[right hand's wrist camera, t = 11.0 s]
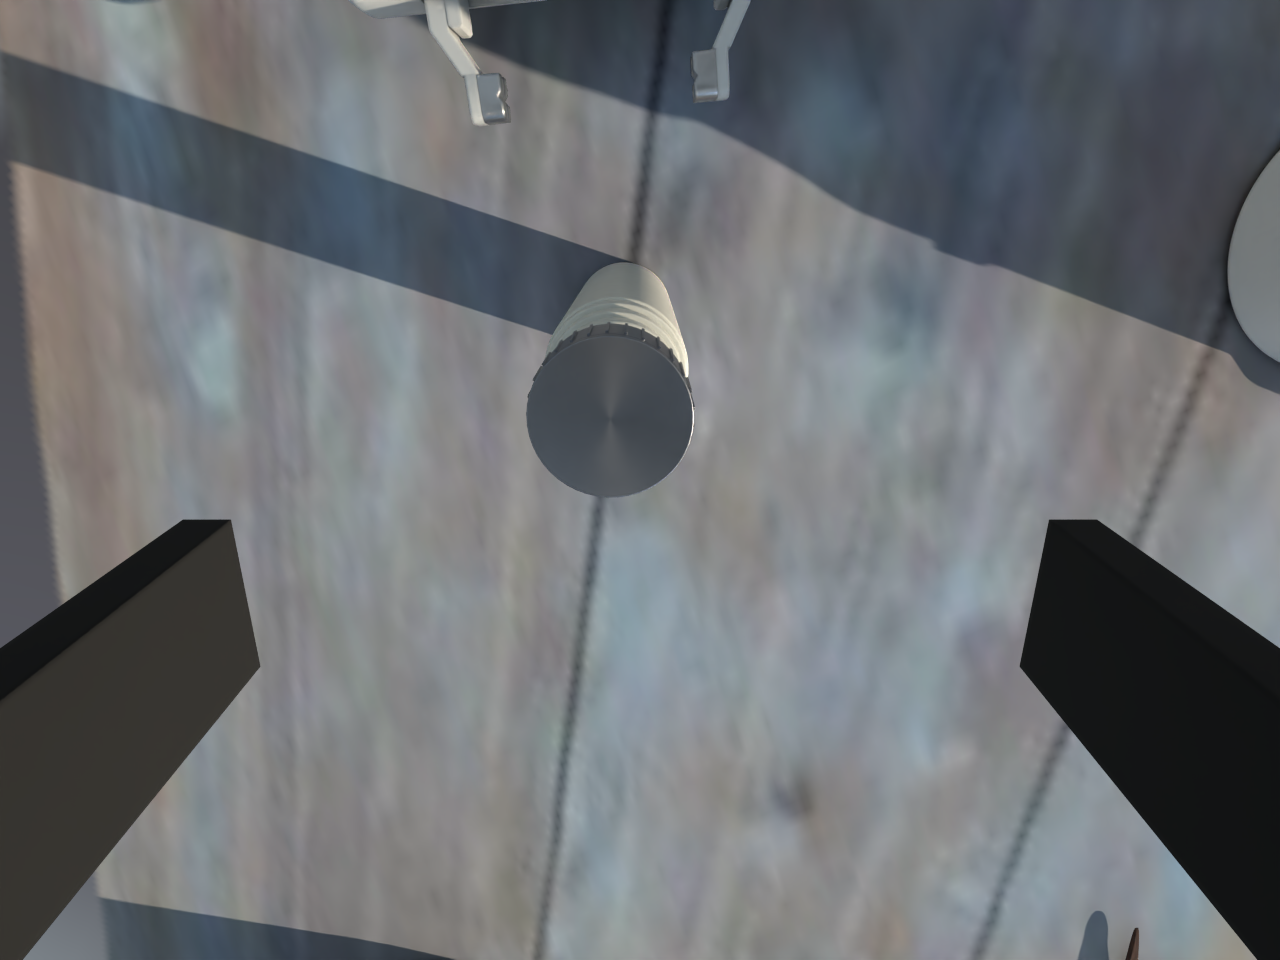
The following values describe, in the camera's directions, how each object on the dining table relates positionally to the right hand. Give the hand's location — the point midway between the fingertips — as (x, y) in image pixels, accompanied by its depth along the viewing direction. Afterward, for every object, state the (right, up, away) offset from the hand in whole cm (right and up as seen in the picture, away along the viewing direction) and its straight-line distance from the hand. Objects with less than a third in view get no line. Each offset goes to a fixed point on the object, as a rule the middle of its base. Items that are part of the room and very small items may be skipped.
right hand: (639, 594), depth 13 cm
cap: (-1, +4, +8) cm, 9 cm away
